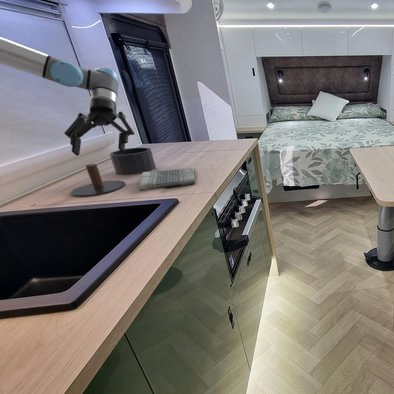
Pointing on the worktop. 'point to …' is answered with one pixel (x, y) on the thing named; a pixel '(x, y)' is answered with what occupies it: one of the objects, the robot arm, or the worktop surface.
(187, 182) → the dish towel
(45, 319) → the worktop surface
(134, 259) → the worktop surface
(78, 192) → the pot lid
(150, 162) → the pot
